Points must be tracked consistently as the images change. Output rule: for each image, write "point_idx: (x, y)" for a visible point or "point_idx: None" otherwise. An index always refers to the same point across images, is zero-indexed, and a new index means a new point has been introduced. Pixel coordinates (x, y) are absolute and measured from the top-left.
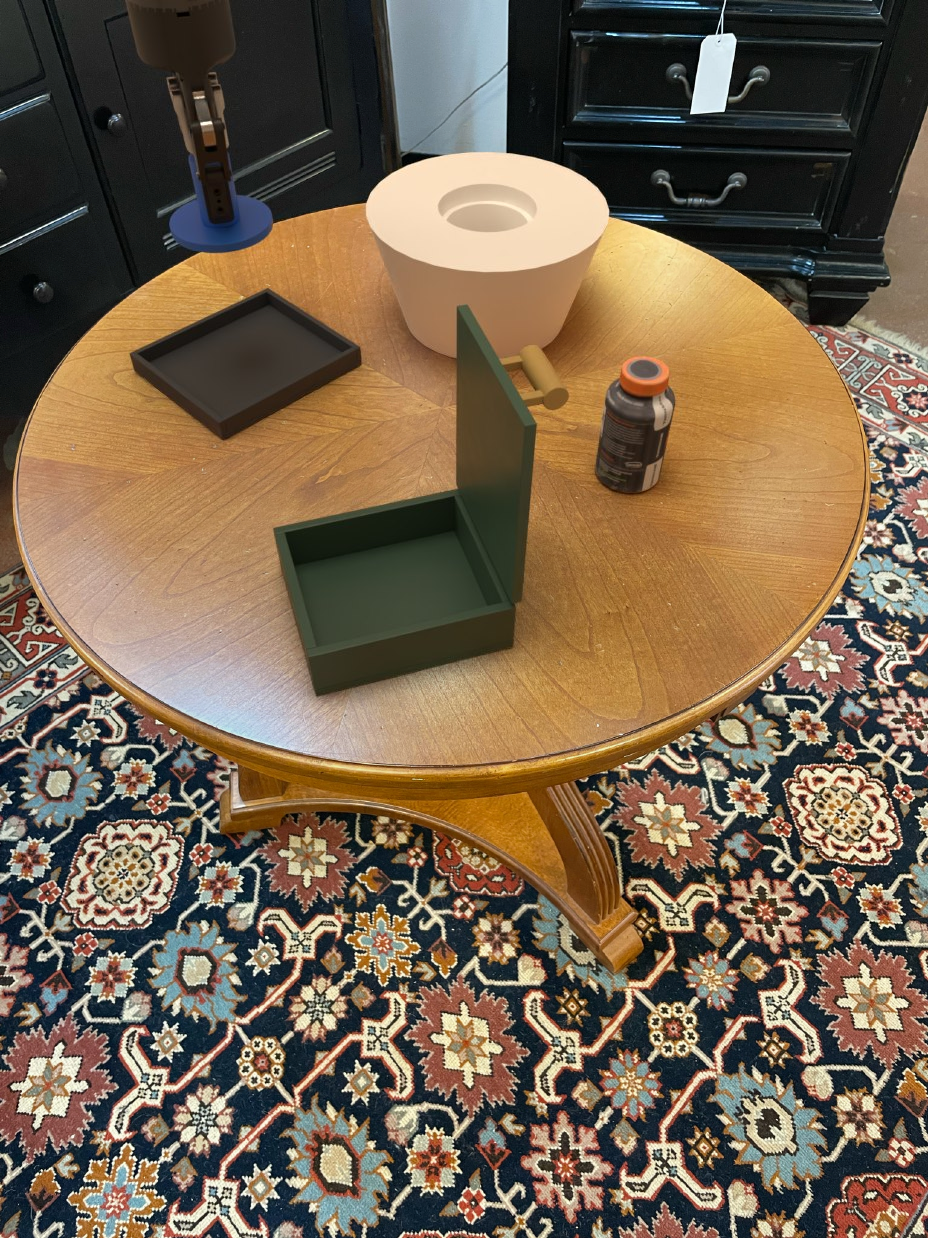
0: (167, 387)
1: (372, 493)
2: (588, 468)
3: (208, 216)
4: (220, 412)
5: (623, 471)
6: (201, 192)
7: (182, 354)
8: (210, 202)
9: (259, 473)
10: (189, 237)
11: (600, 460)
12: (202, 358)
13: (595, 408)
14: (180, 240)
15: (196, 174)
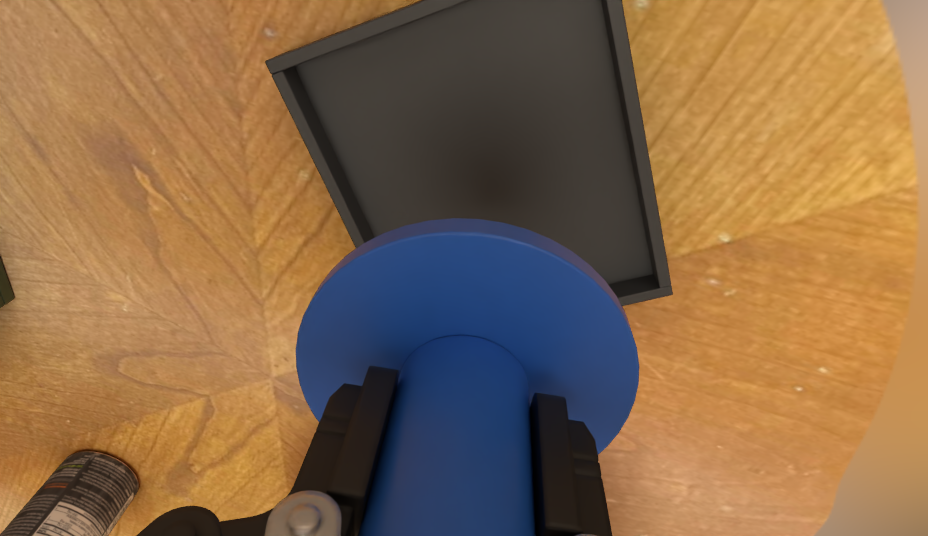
0: None
1: (99, 230)
2: (118, 450)
3: (365, 378)
4: (350, 76)
5: (44, 483)
6: (406, 435)
7: (583, 62)
8: (326, 433)
9: (173, 87)
10: (379, 270)
11: (74, 473)
12: (546, 99)
13: (224, 499)
14: (390, 237)
15: (305, 517)
